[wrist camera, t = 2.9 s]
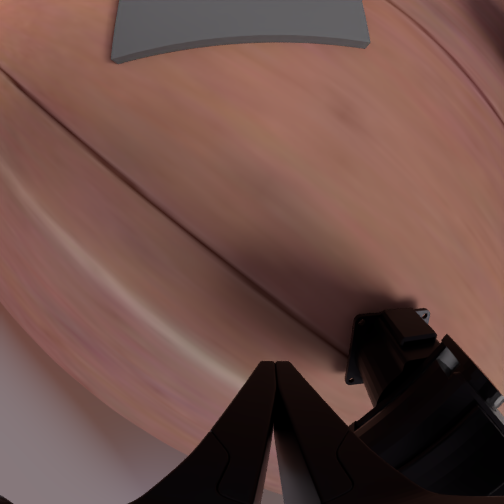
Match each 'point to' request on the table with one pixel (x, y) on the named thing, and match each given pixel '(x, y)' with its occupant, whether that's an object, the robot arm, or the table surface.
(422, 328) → the robot arm
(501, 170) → the table surface
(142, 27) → the mat
